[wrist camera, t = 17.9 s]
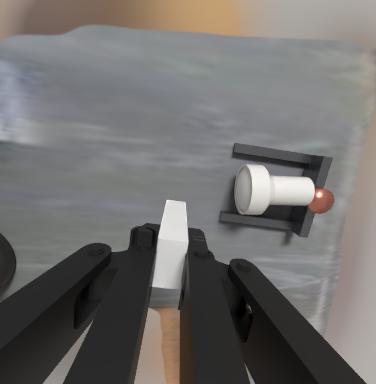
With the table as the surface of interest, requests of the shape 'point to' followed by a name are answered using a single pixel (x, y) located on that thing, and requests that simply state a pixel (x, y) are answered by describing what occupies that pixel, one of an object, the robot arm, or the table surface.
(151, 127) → the table surface
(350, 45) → the table surface
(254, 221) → the channel
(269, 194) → the spotlight
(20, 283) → the table surface
